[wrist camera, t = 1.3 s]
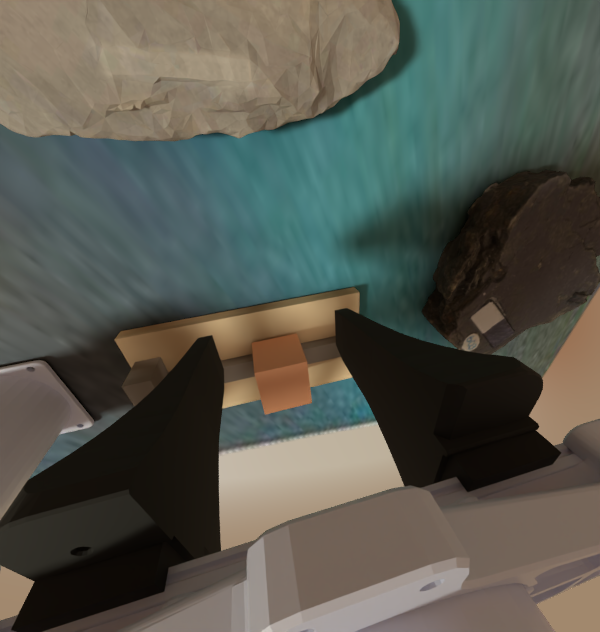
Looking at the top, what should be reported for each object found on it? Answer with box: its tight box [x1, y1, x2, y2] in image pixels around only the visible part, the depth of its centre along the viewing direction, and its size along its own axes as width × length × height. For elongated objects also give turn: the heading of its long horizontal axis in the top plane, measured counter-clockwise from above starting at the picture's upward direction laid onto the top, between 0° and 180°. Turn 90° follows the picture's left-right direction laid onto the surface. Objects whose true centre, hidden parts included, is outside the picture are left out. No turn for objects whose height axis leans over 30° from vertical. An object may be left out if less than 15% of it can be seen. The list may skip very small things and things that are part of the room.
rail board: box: [114, 287, 360, 408], centre depth 22 cm, size 20×10×4 cm, turn 95°
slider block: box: [252, 334, 312, 414], centre depth 21 cm, size 4×5×4 cm
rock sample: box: [422, 170, 600, 354], centre depth 23 cm, size 18×16×5 cm
